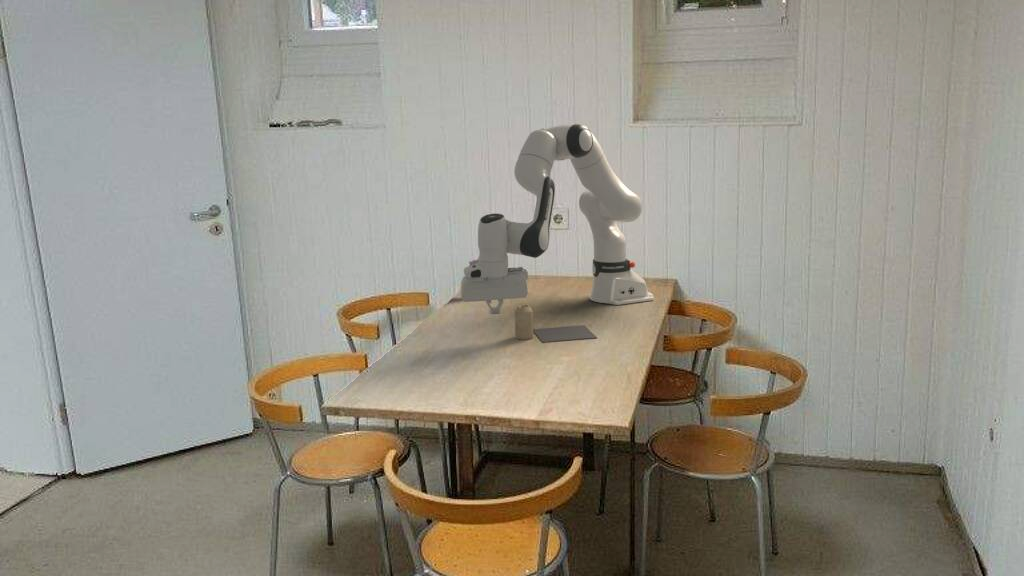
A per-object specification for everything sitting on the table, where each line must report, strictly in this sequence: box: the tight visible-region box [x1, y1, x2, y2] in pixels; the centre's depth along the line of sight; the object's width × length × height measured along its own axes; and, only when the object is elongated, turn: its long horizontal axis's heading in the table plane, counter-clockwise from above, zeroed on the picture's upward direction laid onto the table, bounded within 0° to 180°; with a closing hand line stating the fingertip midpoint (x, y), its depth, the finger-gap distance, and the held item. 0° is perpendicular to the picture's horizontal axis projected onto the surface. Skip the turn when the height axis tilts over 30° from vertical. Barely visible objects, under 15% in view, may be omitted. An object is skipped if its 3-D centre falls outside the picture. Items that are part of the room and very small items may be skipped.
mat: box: [533, 324, 598, 344], centre depth 280 cm, size 17×14×1 cm
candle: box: [514, 304, 534, 340], centre depth 277 cm, size 6×6×10 cm
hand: (494, 313), depth 274 cm, fingers closed
